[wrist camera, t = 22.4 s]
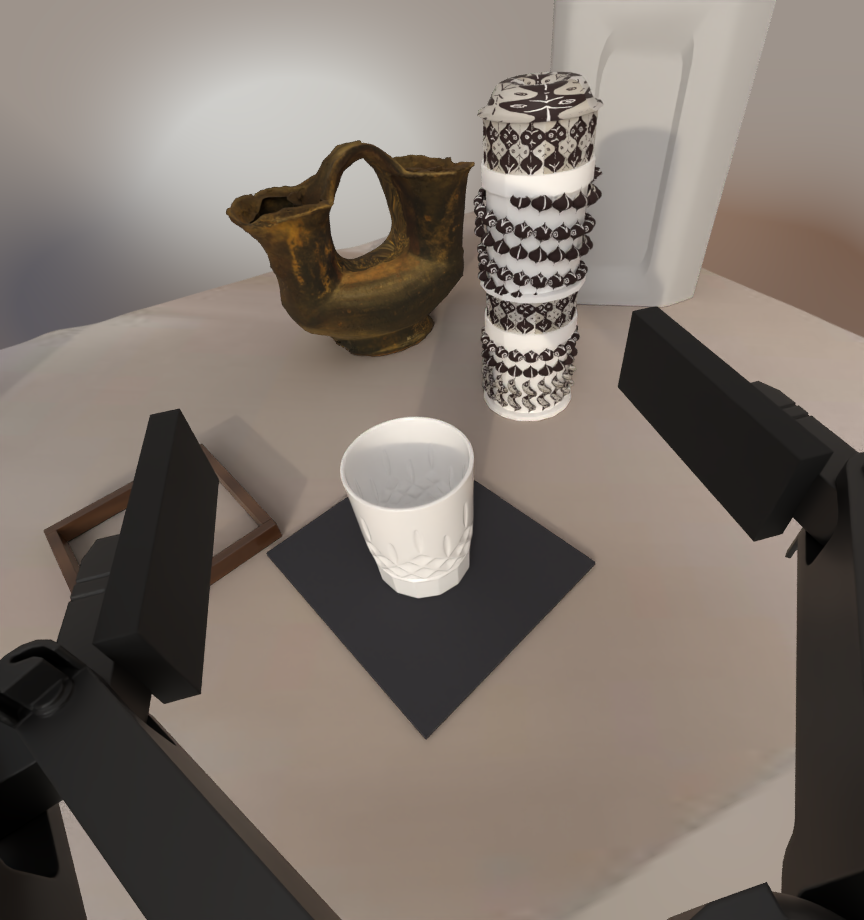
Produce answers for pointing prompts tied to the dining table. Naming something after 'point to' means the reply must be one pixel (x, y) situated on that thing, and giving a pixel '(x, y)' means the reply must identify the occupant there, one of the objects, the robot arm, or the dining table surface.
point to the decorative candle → (534, 237)
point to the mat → (433, 603)
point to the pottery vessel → (376, 273)
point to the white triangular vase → (658, 132)
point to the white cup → (413, 501)
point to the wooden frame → (118, 502)
